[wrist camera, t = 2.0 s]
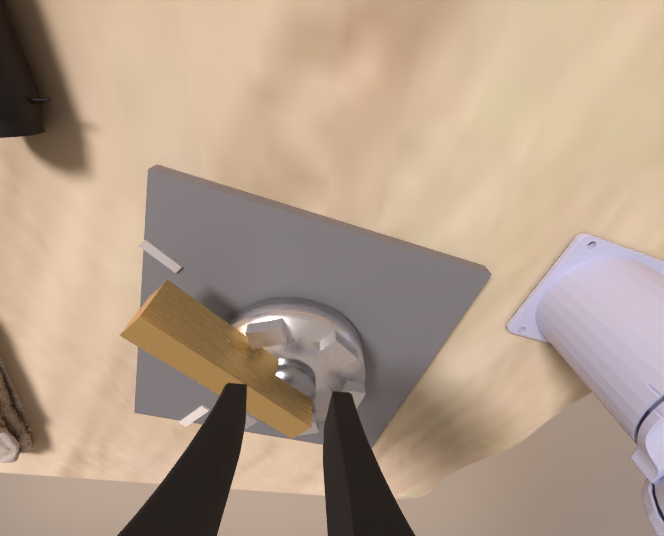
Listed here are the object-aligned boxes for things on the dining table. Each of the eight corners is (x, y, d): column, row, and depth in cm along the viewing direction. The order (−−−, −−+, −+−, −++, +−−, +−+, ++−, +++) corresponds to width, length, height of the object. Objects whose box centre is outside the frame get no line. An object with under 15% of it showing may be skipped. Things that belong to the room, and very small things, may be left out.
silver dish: (390, 358, 23) (406, 423, 19) (289, 418, 26) (283, 486, 22) (230, 213, 17) (199, 260, 13) (125, 314, 20) (73, 378, 16)
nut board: (484, 265, 21) (492, 275, 20) (365, 444, 31) (366, 456, 30) (152, 163, 17) (142, 169, 16) (137, 404, 27) (130, 417, 26)
